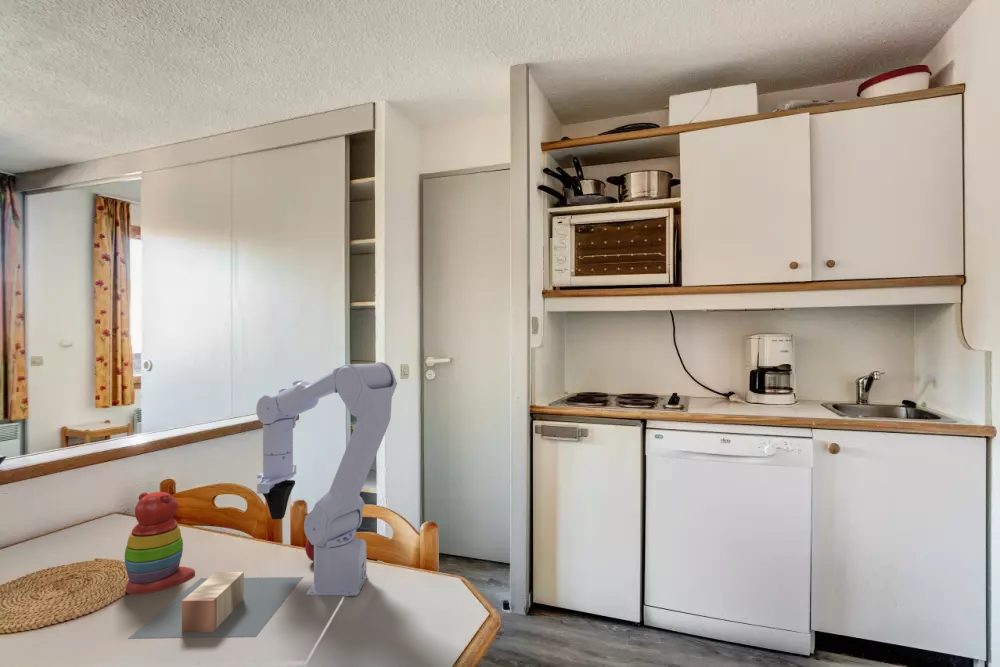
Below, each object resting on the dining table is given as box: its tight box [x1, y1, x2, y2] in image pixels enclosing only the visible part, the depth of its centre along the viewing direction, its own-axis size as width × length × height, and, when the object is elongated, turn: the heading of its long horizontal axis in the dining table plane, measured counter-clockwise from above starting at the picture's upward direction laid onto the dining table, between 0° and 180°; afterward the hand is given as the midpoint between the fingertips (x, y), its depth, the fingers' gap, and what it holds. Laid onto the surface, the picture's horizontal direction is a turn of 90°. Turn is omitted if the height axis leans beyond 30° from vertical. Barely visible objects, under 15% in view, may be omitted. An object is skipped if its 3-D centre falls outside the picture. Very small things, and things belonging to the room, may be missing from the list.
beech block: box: [182, 571, 245, 632], centre depth 86 cm, size 5×5×10 cm
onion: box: [304, 539, 314, 563], centre depth 107 cm, size 6×6×8 cm
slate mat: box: [127, 576, 304, 640], centre depth 90 cm, size 20×20×1 cm
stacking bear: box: [124, 491, 196, 595], centre depth 99 cm, size 11×10×18 cm
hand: (278, 518), depth 105 cm, fingers closed
